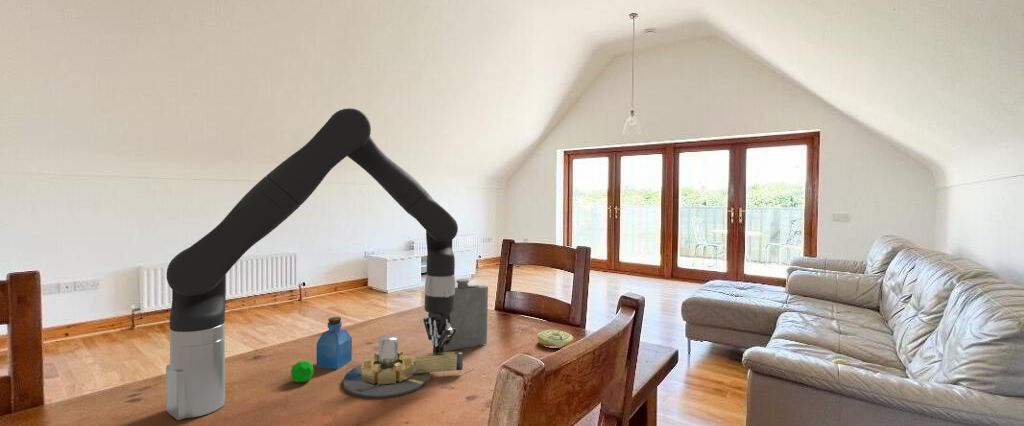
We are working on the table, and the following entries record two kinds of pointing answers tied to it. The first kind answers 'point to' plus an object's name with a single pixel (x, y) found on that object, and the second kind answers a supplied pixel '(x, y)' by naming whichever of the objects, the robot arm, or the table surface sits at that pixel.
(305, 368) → the polyhedron
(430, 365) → the ring wrench
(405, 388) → the flange
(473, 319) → the hip flask
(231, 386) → the table surface
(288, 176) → the robot arm
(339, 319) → the perfume bottle
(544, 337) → the decorated donut
